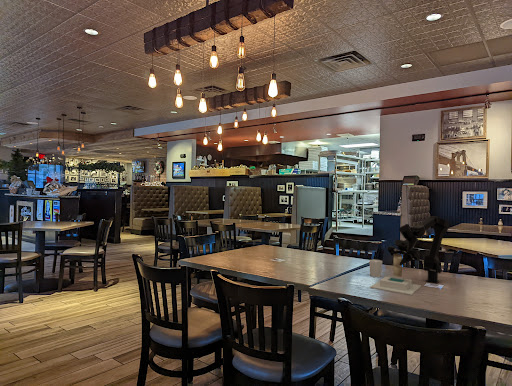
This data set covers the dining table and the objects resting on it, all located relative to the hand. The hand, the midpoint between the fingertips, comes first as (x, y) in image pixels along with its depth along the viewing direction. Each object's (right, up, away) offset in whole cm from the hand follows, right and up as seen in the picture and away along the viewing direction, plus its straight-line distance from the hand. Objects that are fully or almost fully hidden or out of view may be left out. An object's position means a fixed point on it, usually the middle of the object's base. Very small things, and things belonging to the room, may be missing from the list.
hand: (396, 264), depth 200 cm
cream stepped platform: (+1, -14, +2) cm, 14 cm away
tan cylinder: (+1, -7, +1) cm, 7 cm away
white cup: (-2, -14, +29) cm, 32 cm away
